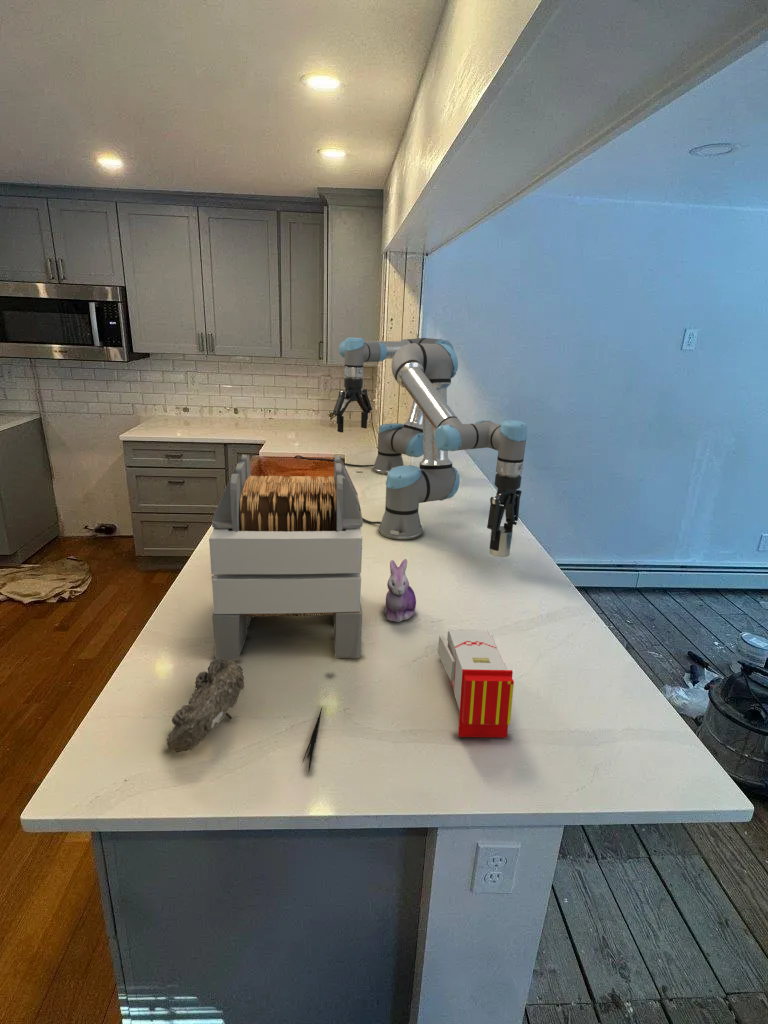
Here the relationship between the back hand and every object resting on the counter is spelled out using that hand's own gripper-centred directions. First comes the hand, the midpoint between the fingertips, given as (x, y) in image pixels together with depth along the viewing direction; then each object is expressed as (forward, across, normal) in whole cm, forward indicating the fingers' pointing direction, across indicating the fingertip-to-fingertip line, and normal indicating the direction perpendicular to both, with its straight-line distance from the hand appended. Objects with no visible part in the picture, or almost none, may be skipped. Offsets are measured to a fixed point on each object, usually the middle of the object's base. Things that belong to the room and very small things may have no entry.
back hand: (352, 430), depth 235 cm
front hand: (+19, -20, -86) cm, 90 cm away
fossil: (+26, -119, -84) cm, 148 cm away
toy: (+26, -77, -115) cm, 140 cm away
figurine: (+26, -64, -84) cm, 108 cm away
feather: (+26, -105, -99) cm, 147 cm away
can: (+21, -20, -86) cm, 91 cm away
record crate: (+26, -86, -67) cm, 113 cm away
